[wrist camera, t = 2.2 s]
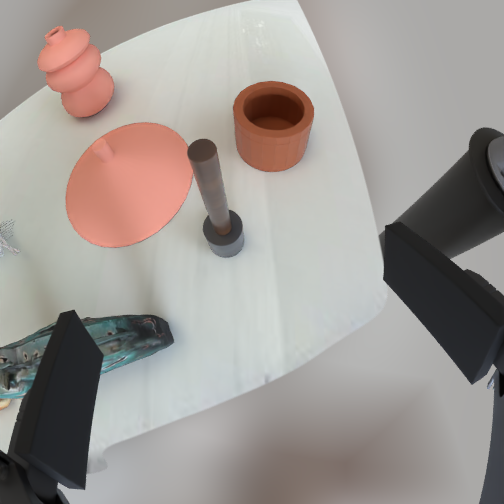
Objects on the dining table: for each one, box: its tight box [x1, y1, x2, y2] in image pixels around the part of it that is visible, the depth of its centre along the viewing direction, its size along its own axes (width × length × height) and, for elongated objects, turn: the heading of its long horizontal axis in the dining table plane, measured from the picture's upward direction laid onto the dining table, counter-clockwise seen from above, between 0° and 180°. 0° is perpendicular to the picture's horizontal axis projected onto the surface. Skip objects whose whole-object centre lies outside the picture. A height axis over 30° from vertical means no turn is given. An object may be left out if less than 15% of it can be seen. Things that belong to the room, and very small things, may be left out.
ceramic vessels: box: [38, 26, 193, 248], centre depth 34 cm, size 35×21×19 cm, turn 31°
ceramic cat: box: [0, 315, 174, 399], centre depth 25 cm, size 20×6×20 cm, turn 112°
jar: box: [233, 81, 314, 172], centre depth 39 cm, size 10×10×8 cm
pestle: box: [187, 139, 244, 257], centre depth 29 cm, size 4×4×20 cm
